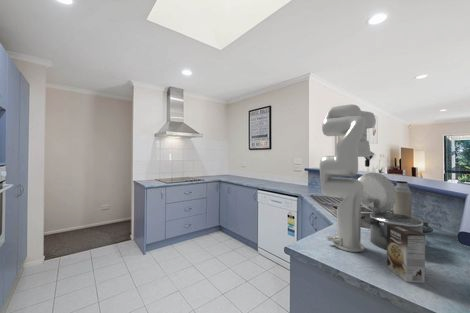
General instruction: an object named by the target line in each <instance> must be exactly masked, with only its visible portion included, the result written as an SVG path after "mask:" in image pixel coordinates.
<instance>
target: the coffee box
mask: <svg viewBox="0 0 470 313" xmlns="http://www.w3.org/2000/svg"><path fill="white" fill-rule="evenodd" d="M386 268H387V269H389V270H390V271H391V272H392V273H394V274H395V275H397V276H398V278H401V280H402V281H404V282H405V283H420V284H421V283H423V284H425V283H426V282H425V281H426V280H425V277H426V273H425V272H426V271H425V270H426V234H425V233H423V232H422V233H421V232H418V231H416V230H413V229H411V228H409V227H406V226H404V225H387V250H386Z"/></svg>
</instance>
